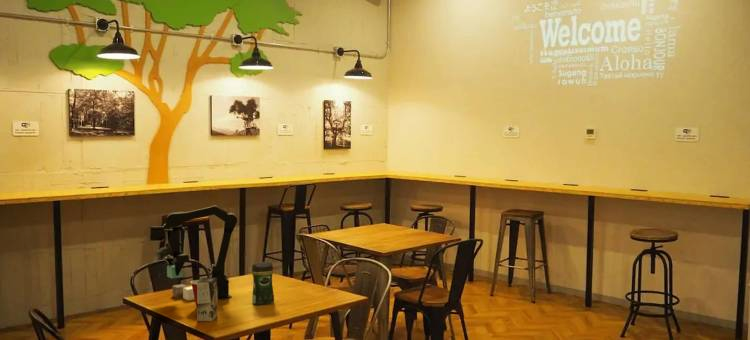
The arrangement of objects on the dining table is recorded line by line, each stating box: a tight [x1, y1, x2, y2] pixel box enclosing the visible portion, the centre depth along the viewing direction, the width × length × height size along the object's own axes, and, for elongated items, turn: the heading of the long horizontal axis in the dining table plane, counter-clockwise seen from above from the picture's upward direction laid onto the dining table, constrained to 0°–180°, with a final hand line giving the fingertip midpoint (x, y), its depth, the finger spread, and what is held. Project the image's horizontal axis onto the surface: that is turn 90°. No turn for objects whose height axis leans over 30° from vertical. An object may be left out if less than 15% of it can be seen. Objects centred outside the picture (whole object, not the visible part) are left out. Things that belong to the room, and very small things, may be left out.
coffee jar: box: [251, 261, 275, 306], centre depth 306 cm, size 10×8×19 cm
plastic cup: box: [190, 279, 201, 309], centre depth 298 cm, size 11×11×12 cm
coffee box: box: [196, 277, 219, 322], centre depth 282 cm, size 9×6×16 cm
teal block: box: [166, 265, 183, 279], centre depth 310 cm, size 5×5×5 cm
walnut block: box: [172, 283, 188, 299], centre depth 319 cm, size 5×5×5 cm
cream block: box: [182, 285, 195, 301], centre depth 315 cm, size 5×5×5 cm
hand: (174, 274), depth 310 cm, fingers closed on teal block, 5 cm apart
